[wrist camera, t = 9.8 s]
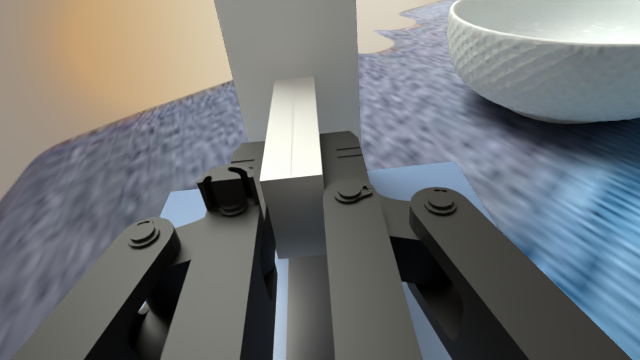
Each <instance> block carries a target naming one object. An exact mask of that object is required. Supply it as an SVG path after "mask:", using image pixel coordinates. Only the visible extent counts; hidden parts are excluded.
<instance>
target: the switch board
mask: <svg viewBox="0 0 640 360" xmlns="http://www.w3.org/2000/svg"><path fill="white" fill-rule="evenodd" d="M367 173H368V177H369V181H370V184H371V185H373V187H374V188H375V190H376V191H377V193H379V194H381V195H382V196H385V197H388V198H391V199H396V200H404V201H411V197H412V196H413V195H414V194H415V193H416V192H417V191H420V190H422V189H424V188H430V187H444V188H449V189H452V190H455V191H458V192H459V193H460V194H462V195H463V196H465V197H466V198H467V199H468V200H469V201H470V202H471V203H472V204H473V205H474V206H475V207H476V208H477V209H478V210H479V211H481V212H482V213H483V214H484V215H485V216H486V217H487V218H488V219H489V220H490V221H491V222H492V223H493V224H494V225H495V226H496V224H495V223H494V221H493V220H492V218H491V217H490V215H489V213H488V212H487V210H486V209H485V207H484V206H483V204H482V203H481V201H480V199H479V198H478V196H477V195H476V193H475V192H474V190H473V189H472V187H471V185H470V184H469V182H468V181H467V179H466V178H465V176H464V175H463V173H462V172H461V170H460V168H459V167H458V165H457V164H456V162H455V161H453V162H444V163H435V164H426V165H417V166H407V167H398V168H389V169H380V170H370V171H367ZM206 211H207V209H206V206H205V204H204V201H203V198H202V196H201V193H200V190H199V189H195V190H185V191H176V192H171V193H170V195H169V197H168V200H167V202H166V204H165V206H164V208H163V211H162V213H161V215H160V217H161V218H165V219H168V220H169V221H170V222H171V223H172V224H173V226H174V228H177V227H180V226H183V225H186V224H189V223H192V222H195V221H197V220H200V219H202V218H204V217H205V214H206ZM496 227H497V226H496ZM497 228H498V227H497ZM275 264H276V268H277V273H278V280H277V298H276V316H275V333H274V351H273V360H335V350H334V337H333V324H332V312H331V299H330V286H329V273H328V260H327V254H326V255H316V256H306V257H296V258H287V259H278V256H277V252H276V251H275ZM402 285H403V289H404V293H405V296H406V300H407V303H408V307H409V311H410V314H411V318H412V322H413V325H414V329H415V332H416V336H417V340H418V343H419V347H420V351H421V354H422V358H423V360H452V359H451V357H450V356H449V354H448V352H447V351H446V349H445V347H444V346H443V344H442V342H441V341H440V339H439V337H438V336H437V334H436V332H435V331H434V329H433V327H432V326H431V324H430V323H429V321H428V319H427V318H426V316H425V314H424V313H423V311H422V309H421V308H420V306H419V304H418V303H417V301H416V299H415V298H414V296H413V294H412V293H411V291H410V289H409V288H408V285H407V283H406V282H402ZM145 303H146V302H145ZM145 303H144V304H143V306H144V305H145ZM143 306H142V307H141V309H142V308H143ZM141 309H140V310H141ZM140 310H139V311H140Z"/></svg>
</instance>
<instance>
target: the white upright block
mask: <svg viewBox="0 0 640 360" xmlns="http://www.w3.org/2000/svg"><path fill="white" fill-rule="evenodd" d="M214 3H215V7H216V11H217V15H218V19H219V23H220V27H221V31H222V36H223V39H224V44H225V48H226V52H227V56H228V60H229V65H230V68H231V73H232V76H233V81H234V85H235V89H236V93H237V98H238V102H239V106H240V110H241V114H242V118H243V122H244V126H245V131H246V135H247V139H248V143H249V142H259V141H266V135H267V128H268V122H269V115H270V108H271V102H272V95H273V88H274V82H275V80H284V79H293V78H302V77H311V76H314V84H315V93H316V102H317V111H318V120H319V129H320V134H322V133H332V132H341V131H351V132H352V133H353V134H354V135H356V136H357V137H358V139H359V143H360V147H361V130H360V102H359V74H358V49H357V48H358V47H357V21H356V20H357V19H356V0H214Z"/></svg>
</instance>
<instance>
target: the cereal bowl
mask: <svg viewBox="0 0 640 360" xmlns="http://www.w3.org/2000/svg"><path fill="white" fill-rule="evenodd" d="M447 29H448V34H447V40H448V50H449V55H450V59H451V62H452V65H453V66H454V69H455V71H456V72H457V73H458V75H459V77H461V78H462V80H463V82H465V83H466V84H467V85H468V86H469V87H470V88H472V90H473V91H475V92H477V93H478V94H479V95H480V96H483V97H485V98H486V99H488V100H490V101H492V102H494V103H496V104H500V105H502V106H503V107H507V108H508V109H510V110H512V111H513V112H515V113H517V114H520V115H522V116H525V117H528V118H532V119H535V120H540V121H545V122H550V123H559V124H582V123H592V122H598V121H618V120H625V119H629V120H630V119H634V118H640V0H458V1H456V2H455V3H454V4H453V5H452V6H451V8H450V11H449V15H448V26H447Z"/></svg>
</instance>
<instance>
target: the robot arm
mask: <svg viewBox="0 0 640 360" xmlns="http://www.w3.org/2000/svg"><path fill="white" fill-rule="evenodd" d="M197 185H198V187H199V190H200V193H201V196H202V198H203V201H204V204H205V206H206V209H207V211H206V214H205V217H204V218H202V219H200V220H197V221H195V222H192V223H189V224H186V225H183V226H180V227H177V228H174V226H173V224H172V223H171V222H170V221H169V220H168V219H165V218H161V217H156V218H148V219H145V220H141V221H138V222H136V223H135V224H133V225H131V226H129V227H128V228H126V229H125V230H124V231H123V232H122V233H121V234H120V235H119V236H118V237H117V238H116V239H115V240H114V242H113V243H112V244H111V245H110V246H109V247H108V248H107V250H106V251H105V252H104V253H103V254H102V255H101V256H100V258H99V259H98V260H97V261H96V262H95V263H94V264H93V266H92V267H91V268H90V269H89V270H88V271H87V272H86V274H85V275H84V276H83V277H82V278H81V279H80V281H79V282H78V283H77V284H76V285H75V286H74V287H73V289H72V290H71V291H70V292H69V293H68V294H67V295H66V297H65V298H64V299H63V300H62V301H61V302H60V303H59V305H58V306H57V307H56V308H55V309H54V310H53V311H52V313H51V314H50V315H49V316H48V317H47V318H46V320H45V321H44V322H43V323H42V324H41V325H40V326H39V328H38V329H37V330H36V331H35V332H34V333H33V334H32V336H31V337H30V338H29V339H28V340H27V341H26V342H25V344H24V345H23V346H22V347H21V348H20V349H19V350H18V352H17V353H16V354H15V355H14V356H13V357H12V358H11V360H273V351H274V333H275V316H276V298H277V280H278V273H277V268H276V264H275V251H276V252H277V256H278V259H287V258H296V257H306V256H316V255H326V254H327V260H328V273H329V286H330V299H331V312H332V324H333V337H334V350H335V360H423V358H422V354H421V351H420V347H419V343H418V340H417V336H416V332H415V329H414V325H413V322H412V318H411V314H410V311H409V307H408V303H407V300H406V296H405V293H404V289H403V285H402V282H406V283H407V285H408V288H409V289H410V291H411V293H412V294H413V296H414V298H415V299H416V301H417V303H418V304H419V306H420V308H421V309H422V311H423V313H424V314H425V316H426V318H427V319H428V321H429V323H430V324H431V326H432V327H433V329H434V331H435V332H436V334H437V336H438V337H439V339H440V341H441V342H442V344H443V346H444V347H445V349H446V351H447V352H448V354H449V356H450V357H451V359H452V360H632V359H631V358H630V357H629V356H628V355H627V354H626V353H625V352H624V351H623V350H622V349H621V348H620V347H619V346H618V345H617V344H616V343H615V342H614V341H613V340H612V339H610V338H609V337H608V336H607V335H606V334H605V333H604V332H603V331H602V330H601V329H600V328H599V327H598V326H597V325H596V324H595V323H594V322H593V321H592V320H591V319H590V318H589V317H588V316H587V315H586V314H585V313H584V312H583V311H582V310H581V309H580V308H579V307H578V306H577V305H576V304H575V303H574V302H573V301H572V300H571V299H570V298H569V297H568V296H566V295H565V294H564V293H563V292H562V291H561V290H560V289H559V288H558V287H557V286H556V285H555V284H554V283H553V282H552V281H551V280H550V279H549V278H548V277H547V276H546V275H545V274H544V273H543V272H542V271H541V270H540V269H539V268H538V267H537V266H536V265H535V264H534V263H533V262H532V261H531V260H530V259H529V258H528V257H527V256H526V255H525V254H523V253H522V252H521V251H520V250H519V249H518V248H517V247H516V246H515V245H514V244H513V243H512V242H511V241H510V240H509V239H508V238H507V237H506V236H505V235H504V234H503V233H502V232H501V231H500V230H499V229H498V228H497V227H496V226H495V225H494V224H493V223H492V222H491V221H490V220H489V219H488V218H487V217H486V216H485V215H484V214H483V213H482V212H481V211H479V210H478V209H477V208H476V207H475V206H474V205H473V204H472V203H471V202H470V201H469V200H468V199H467V198H466V197H465V196H463V195H462V194H460V193H459V192H458V191H455V190H452V189H449V188H444V187H430V188H424V189H422V190H420V191H417V192H416V193H415V194H414V195H413V196H412V197H411V201H404V200H396V199H391V198H388V197H385V196H382V195H381V194H379V193H377V191H376V190H375V188H374V187H373V185H371V184H370V181H369V177H368V173H367V169H366V166H365V162H364V158H363V155H362V150H361V147H360V143H359V139H358V137H357V136H356V135H354V134H353V133H352V132H351V131H341V132H332V133H322V134H320V129H319V120H318V111H317V102H316V93H315V84H314V76H311V77H302V78H293V79H284V80H275V82H274V88H273V95H272V102H271V108H270V115H269V122H268V128H267V135H266V141H259V142H249V143H242V144H241V145H240V146H239V147H238V148H237V149H236V150H235V151H234V153H233V156H232V160H231V164H228V165H223V166H219V167H216V168H214V169H212V170H210V171H208V172H207V173H205V174H204V175H203V176H201V178H200V179H199V181H198V182H197ZM145 302H146V303H145ZM144 303H145V305H144V306H143V304H144ZM142 306H143V308H142V309H141V307H142ZM140 309H141V310H140ZM139 310H140V311H139Z"/></svg>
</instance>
